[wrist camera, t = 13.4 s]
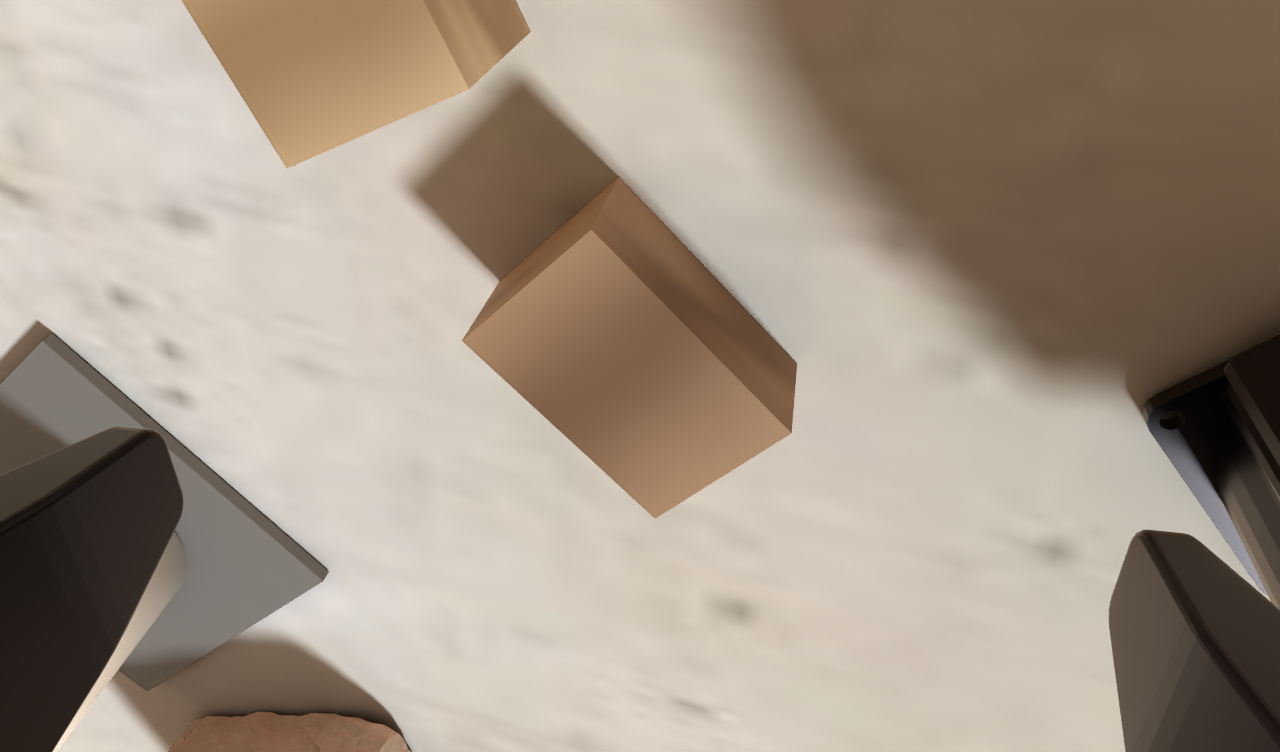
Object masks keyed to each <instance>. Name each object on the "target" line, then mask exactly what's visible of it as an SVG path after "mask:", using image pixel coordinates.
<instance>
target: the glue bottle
mask: <svg viewBox="0 0 1280 752" xmlns="http://www.w3.org/2000/svg"><path fill="white" fill-rule="evenodd" d="M186 575H187V558H186V554H185V551H184V548H183V545H182V543H181V541H180V540H179V538H178V536H177V534H176V533H175V532H174V533H173V535H172V537H171V539H170V541H169V543H168V545H167V547H166V549H165V552H164V554H163V556H162V558H161V560H160V562H159V564H158V566H157V568H156V570H155V572H154V574H153V576H152V578H151V580H150V582H149V584H148V586H147V588H146V590H145V592H144V594H143V596H142V598H141V600H140V602H139V604H138V606H137V608H136V610H135V613H134V615H133V617H132V619H131V621H130V623H129V625H128V627H127V629H126V631H125V632H124V634H123V636H122V638H121V640H120V642H119V644H118V646H117V648H116V650H115V651H114V653H113V655H112V657H111V658H110V660H109V662H108V663H107V665H106V667H105V668H104V670H103V672H102V673H101V675H100V677H99V678H98V680H97V681H96V683H95V685H94V686H93V688H92V689H91V691H90V693H89V694H88V696H87V697H86V699H85V701H84V702H83V704H82V705H81V707H80V709H79V710H78V712H77V713H76V715H75V717H74V718H73V720H72V721H71V723H70V725H69V726H68V728H67V729H66V731H65V733H64V734H63V736H62V737H61V739H60V741H59V742H58V744H57V746H56V747H55V749H54V750H53V752H57V751H58V749H59V748H60V747H61V745H62V744H63V743H64V741H65V740H66V739H67V737H68V736H69V735H70V733H71V732H72V731H73V729H74V728H75V727H76V725H77V724H78V723H79V721H80V720H81V719H82V717H83V716H84V715H85V713H86V712H87V711H88V709H89V708H90V707H91V705H92V704H93V703H94V701H95V700H96V699H97V697H98V696H99V695H100V693H101V692H102V691H103V689H104V688H105V687H106V685H107V684H108V683H109V681H110V680H111V679H112V677H113V676H114V675H115V673H116V672H117V671H118V669H119V668H120V667H121V665H122V664H123V663H124V661H125V660H126V659H127V657H128V656H129V655H130V653H131V652H132V651H133V649H134V648H135V647H136V645H137V644H138V643H139V641H140V640H141V639H142V637H143V636H144V635H145V633H146V632H147V631H148V629H149V628H150V627H151V625H152V624H153V623H154V621H155V620H156V619H157V617H158V616H159V615H160V613H161V612H162V611H163V609H164V608H165V607H166V605H167V604H168V603H169V601H170V600H171V599H172V597H173V596H174V595H175V593H176V592H177V591H178V589H179V588H180V587H181V585H182V584H183V582H184V580H185V578H186Z"/></svg>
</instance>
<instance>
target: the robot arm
mask: <svg viewBox="0 0 1280 752" xmlns="http://www.w3.org/2000/svg"><path fill="white" fill-rule="evenodd" d="M1173 410H1174V411H1179V413H1178V415H1176V416H1175V417H1174V418H1171V419H1167V420H1166V419H1160V418H1161V416H1162V415H1163V414H1165V413H1166V412H1169V411H1173ZM1143 416H1144V419H1145V421H1146V424H1147V426H1148V428H1149V431H1150V432H1151V434H1152V435H1153V436H1154V438H1155V439H1156V441H1157V442H1158V444H1159V445H1160V446H1161V448H1162V449H1163V451H1164V452H1165V454H1166V455H1167V457H1168V458H1169V459H1170V461H1171V462H1172V464H1173V465H1174V467H1175V468H1176V469H1177V471H1178V472H1179V474H1180V475H1181V477H1182V478H1183V480H1184V481H1185V482H1186V484H1187V485H1188V487H1189V488H1190V490H1191V491H1192V493H1193V494H1194V495H1195V497H1196V498H1197V500H1198V501H1199V503H1200V504H1201V505H1202V507H1203V508H1204V510H1205V511H1206V513H1207V514H1208V516H1209V517H1210V518H1211V520H1212V521H1213V523H1214V524H1215V526H1216V527H1217V528H1218V530H1219V531H1220V533H1221V534H1222V536H1223V537H1224V539H1225V540H1226V541H1227V543H1228V544H1229V546H1230V547H1231V549H1232V550H1233V551H1234V553H1235V554H1236V556H1237V557H1238V559H1239V560H1240V562H1241V563H1242V564H1243V566H1244V567H1245V569H1246V570H1247V572H1248V573H1249V574H1250V576H1251V577H1252V579H1253V580H1254V582H1255V583H1256V585H1257V586H1258V587H1259V589H1260V590H1261V591H1262V592H1264V593H1265V594H1267V595H1268V596H1269V598H1270V600H1271V602H1272V603H1271V602H1270V601H1269V600H1268V599H1266V598H1265V597H1264V596H1263V595H1262V594H1261V593H1259V592H1258V591H1257V590H1256V589H1255V588H1254V587H1252V586H1251V585H1250V584H1249V583H1248V582H1247V581H1245V580H1244V579H1243V578H1242V577H1241V576H1239V575H1238V574H1237V573H1236V572H1235V571H1234V570H1232V569H1231V568H1230V567H1229V566H1228V565H1227V564H1225V563H1224V562H1223V561H1222V560H1221V559H1220V558H1218V557H1217V556H1216V555H1215V554H1214V553H1213V552H1211V551H1210V550H1209V549H1208V548H1207V547H1205V546H1204V545H1203V544H1202V543H1201V542H1200V541H1198V540H1197V539H1195V538H1194V537H1193V536H1190V535H1188V534H1183V533H1174V532H1165V531H1155V530H1143V531H1140V532H1138V533H1136V535H1135V536H1134V537H1133V539H1132V540H1131V543H1130V545H1129V548H1128V551H1127V554H1126V556H1125V559H1124V562H1123V565H1122V568H1121V571H1120V574H1119V577H1118V580H1117V583H1116V585H1115V588H1114V591H1113V594H1112V597H1111V601H1110V607H1109V629H1110V637H1111V645H1112V652H1113V660H1114V667H1115V675H1116V683H1117V690H1118V698H1119V705H1120V713H1121V721H1122V728H1123V736H1124V743H1125V751H1126V752H1280V335H1278V336H1276V337H1274V338H1272V339H1270V340H1268V341H1266V342H1264V343H1261V344H1259V345H1257V346H1255V347H1253V348H1251V349H1249V350H1247V351H1244V352H1242V353H1240V354H1238V355H1236V356H1234V357H1232V358H1231V359H1230V360H1228V361H1226V362H1224V363H1222V364H1220V365H1218V366H1215V367H1213V368H1211V369H1209V370H1207V371H1205V372H1203V373H1201V374H1198V375H1196V376H1194V377H1192V378H1190V379H1188V380H1186V381H1184V382H1181V383H1179V384H1177V385H1175V386H1173V387H1171V388H1169V389H1166V390H1164V391H1162V392H1160V393H1158V394H1156V395H1155V396H1153V397H1152V398H1150V399H1149V400H1148V401H1147V403H1146V404H1145V405H1144V408H1143ZM183 504H184V500H183V492H182V489H181V486H180V483H179V480H178V477H177V474H176V471H175V468H174V465H173V462H172V459H171V456H170V453H169V450H168V447H167V444H166V442H165V440H164V438H163V437H162V436H161V434H160V433H159V432H157V431H155V430H153V429H147V428H137V427H128V426H116V427H112V428H109V429H106V430H104V431H102V432H99V433H97V434H95V435H92V436H90V437H88V438H85V439H83V440H81V441H78V442H76V443H74V444H71V445H69V446H67V447H64V448H62V449H60V450H57V451H55V452H53V453H50V454H48V455H46V456H43V457H41V458H39V459H37V460H34V461H32V462H30V463H27V464H25V465H23V466H20V467H18V468H16V469H13V470H11V471H9V472H6V473H4V474H2V475H0V752H53V750H54V749H55V747H56V746H57V744H58V742H59V741H60V739H61V737H62V736H63V734H64V733H65V731H66V729H67V728H68V726H69V725H70V723H71V721H72V720H73V718H74V717H75V715H76V713H77V712H78V710H79V709H80V707H81V705H82V704H83V702H84V701H85V699H86V697H87V696H88V694H89V693H90V691H91V689H92V688H93V686H94V685H95V683H96V681H97V680H98V678H99V677H100V675H101V673H102V672H103V670H104V668H105V667H106V665H107V663H108V662H109V660H110V658H111V657H112V655H113V653H114V651H115V650H116V648H117V646H118V644H119V642H120V640H121V638H122V636H123V634H124V632H125V631H126V629H127V627H128V625H129V623H130V621H131V619H132V617H133V615H134V613H135V610H136V608H137V606H138V604H139V602H140V600H141V598H142V596H143V594H144V592H145V590H146V588H147V586H148V584H149V582H150V580H151V578H152V576H153V574H154V572H155V570H156V568H157V566H158V564H159V562H160V560H161V558H162V556H163V554H164V552H165V549H166V547H167V545H168V543H169V541H170V539H171V537H172V535H173V533H174V531H175V529H176V527H177V525H178V523H179V521H180V518H181V515H182V511H183Z"/></svg>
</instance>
